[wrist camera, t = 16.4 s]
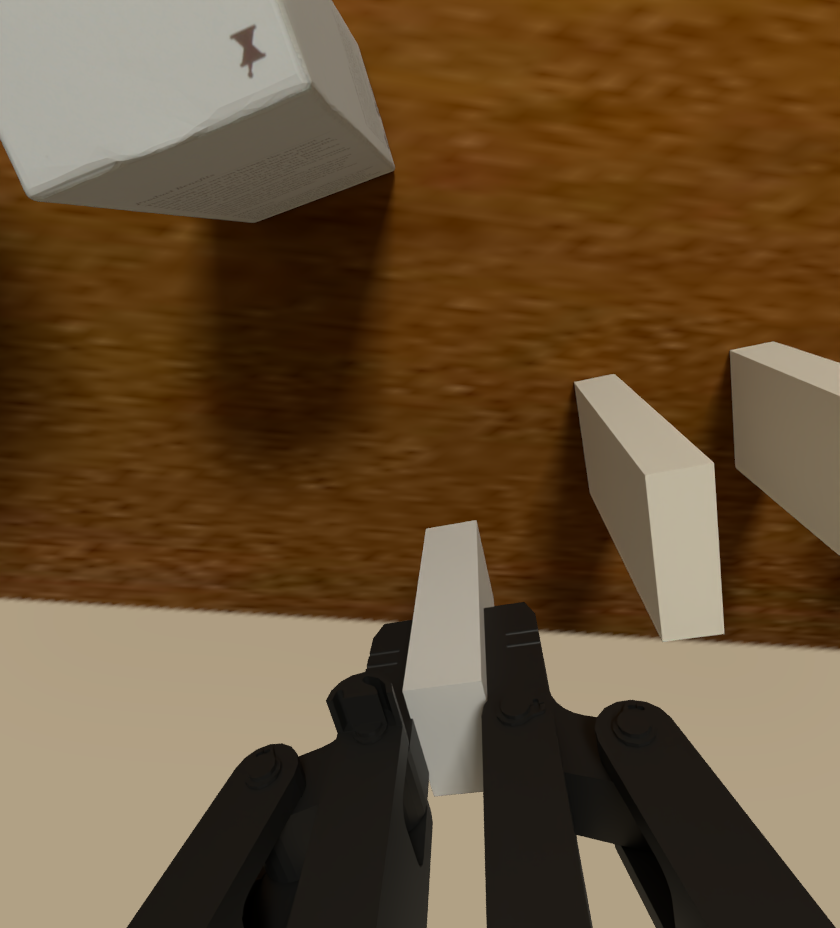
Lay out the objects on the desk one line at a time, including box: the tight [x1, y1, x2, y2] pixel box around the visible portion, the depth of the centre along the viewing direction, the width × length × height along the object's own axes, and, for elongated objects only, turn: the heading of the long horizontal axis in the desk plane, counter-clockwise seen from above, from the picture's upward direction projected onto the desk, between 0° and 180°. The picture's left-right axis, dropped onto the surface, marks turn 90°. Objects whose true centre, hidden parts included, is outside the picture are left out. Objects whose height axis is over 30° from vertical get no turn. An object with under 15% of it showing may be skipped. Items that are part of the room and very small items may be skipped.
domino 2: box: [730, 341, 840, 556], centre depth 18 cm, size 2×5×10 cm, turn 13°
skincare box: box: [0, 0, 395, 223], centre depth 15 cm, size 6×4×12 cm
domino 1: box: [574, 374, 724, 642], centre depth 19 cm, size 2×5×10 cm, turn 13°
